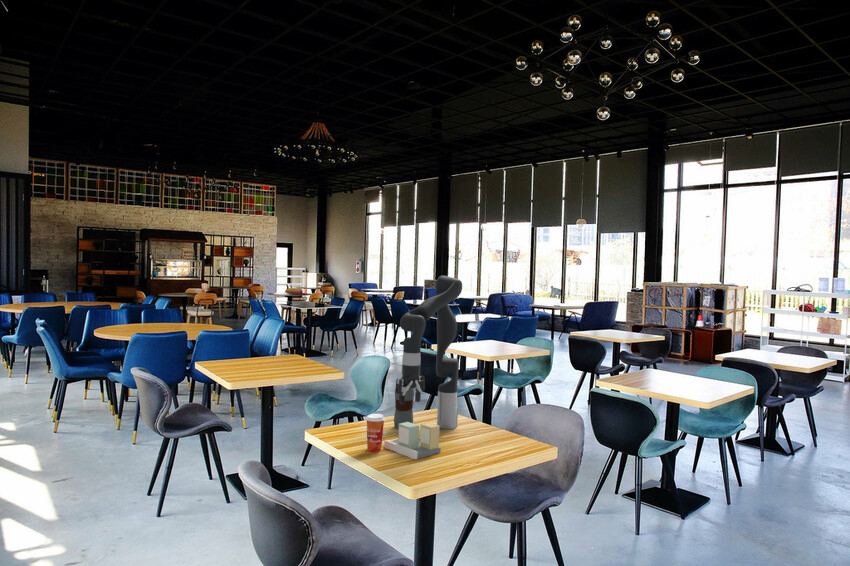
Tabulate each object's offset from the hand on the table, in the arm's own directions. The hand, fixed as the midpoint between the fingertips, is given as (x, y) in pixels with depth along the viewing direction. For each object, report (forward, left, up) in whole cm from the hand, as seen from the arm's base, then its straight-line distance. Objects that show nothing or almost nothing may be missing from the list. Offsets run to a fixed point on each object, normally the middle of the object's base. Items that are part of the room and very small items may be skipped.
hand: (409, 402), depth 220 cm
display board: (-3, 0, -20) cm, 20 cm away
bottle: (-21, -27, -20) cm, 40 cm away
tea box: (0, 0, -18) cm, 18 cm away
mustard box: (-6, +6, -18) cm, 20 cm away
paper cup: (+10, -10, -20) cm, 24 cm away
